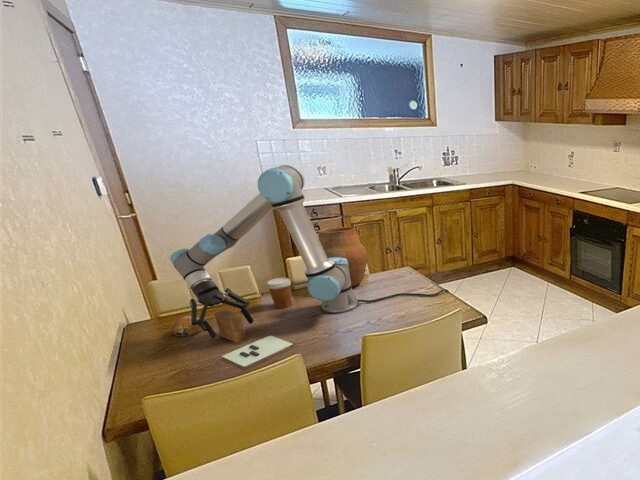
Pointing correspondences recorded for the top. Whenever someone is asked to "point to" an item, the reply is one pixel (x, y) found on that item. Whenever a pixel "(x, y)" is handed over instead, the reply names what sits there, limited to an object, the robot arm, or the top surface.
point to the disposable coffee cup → (280, 292)
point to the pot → (346, 249)
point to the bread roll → (185, 327)
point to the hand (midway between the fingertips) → (233, 329)
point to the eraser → (230, 325)
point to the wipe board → (265, 349)
